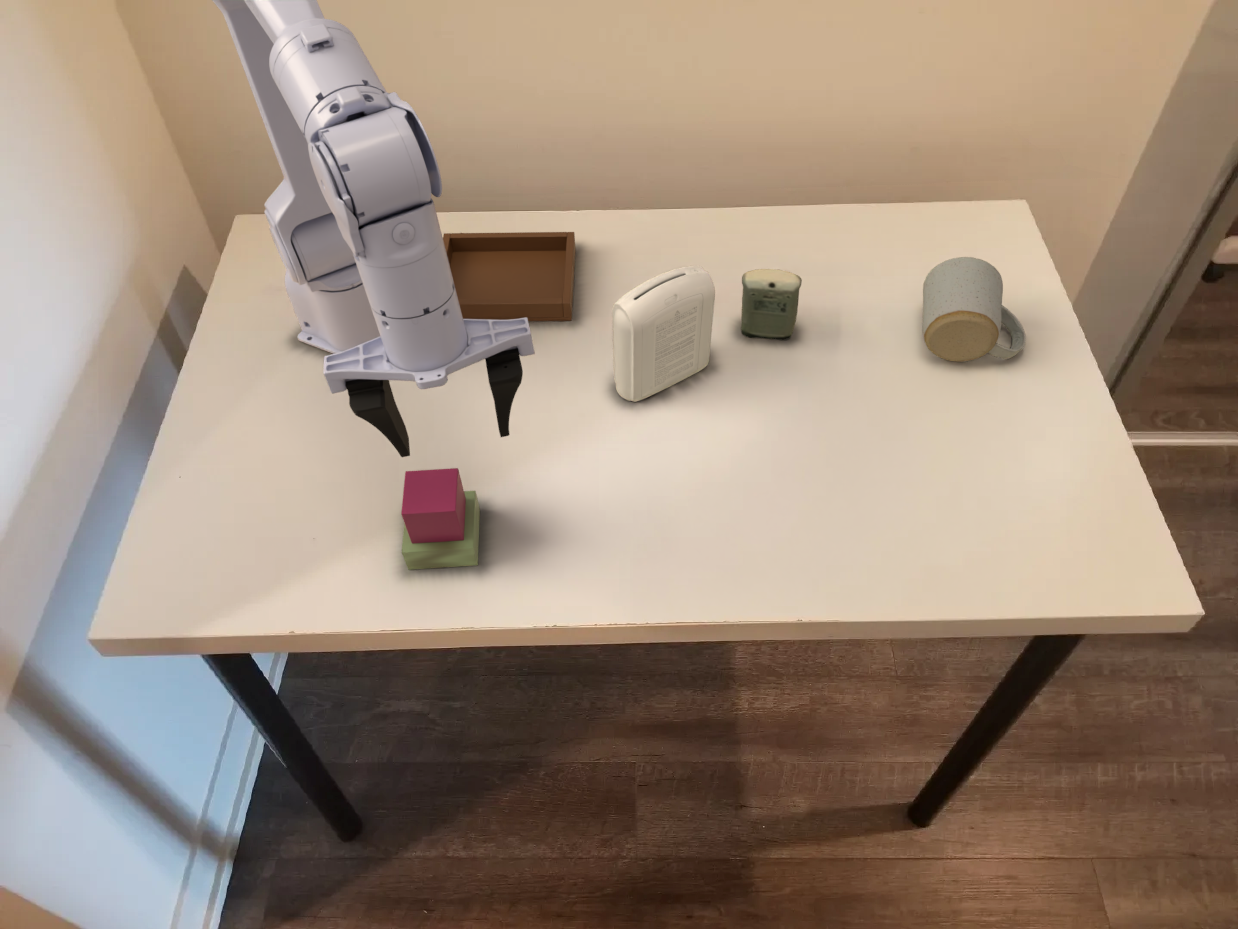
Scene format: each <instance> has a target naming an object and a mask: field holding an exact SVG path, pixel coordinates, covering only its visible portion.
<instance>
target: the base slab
mask: <svg viewBox="0 0 1238 929" xmlns="http://www.w3.org/2000/svg"><path fill="white" fill-rule="evenodd" d="M464 493H465V497H466V506H465V527H464V540H460V541H444V542H428V543H412V542H411V540H410V537H409V534H408V531H407V529H406V526H405V523H404V522H403V523H404V524H403V534H402V544H401V555H402V558H403V560H404V562H405V565H406V568H407V570H408V571H410V570H425V569H426V570H427V569H440V568H441V569H442V568H443V569H444V568H457V567H459V568H460V567H473V566H478V565H479V545H480V518H481V516H480V514H481V513H480V512H481V508H480V504H479V499H478V496H477V491H476V490H466V491H465V490H464Z"/></svg>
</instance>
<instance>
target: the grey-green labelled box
mask: <svg viewBox="0 0 1238 929" xmlns="http://www.w3.org/2000/svg"><path fill="white" fill-rule="evenodd" d="M802 282H803V279H802V278H801V276H800V275H798V274H797V273H793V272H791V271H787V270H783V269H776V268H775V269H774V268H758V269H757V268H756V269H753V270H749V271H746V272H744V273H743V274H742V275H741V284H742V285H741V286H742V294H741V319H740V320H741V321H740V322H741V323H740V331H741V334H742V335H743V336H744V337H747V338H751V339H766V340H780V341H787V340H789V339H791V338H792V335H793V333H794V329H795V326H796V321H797V316H798V309H799V297H800V288H801V287H802Z"/></svg>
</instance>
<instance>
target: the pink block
mask: <svg viewBox="0 0 1238 929" xmlns="http://www.w3.org/2000/svg"><path fill="white" fill-rule="evenodd" d="M403 482H404V483H403V493H402V503H401V517H402V520H403V523H405V526H406V529H407V531H408V534H409V537H410V540H411V542H412V543H428V542H444V541H460V540H464V527H465V506H466V497H465V493H464V491H465V490H464V486H463V483H462V482H463V481H462V478H461V474H460V471H459V468H458V467H452V468H437V469H436V468H435V469H420V470H419V469H417V470H406V471H405V472H404V481H403Z"/></svg>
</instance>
